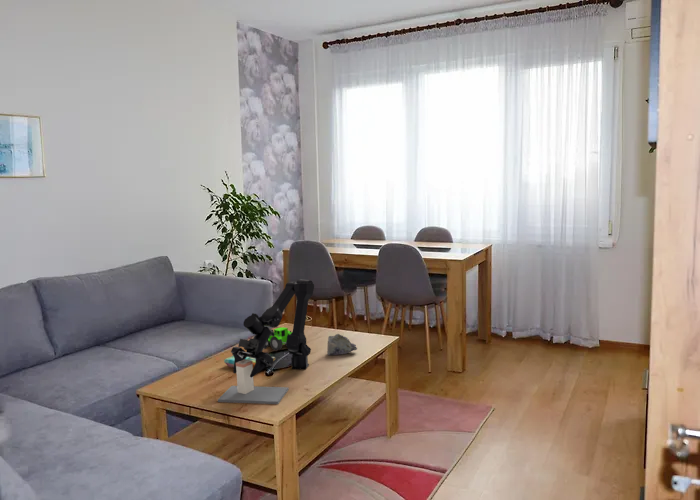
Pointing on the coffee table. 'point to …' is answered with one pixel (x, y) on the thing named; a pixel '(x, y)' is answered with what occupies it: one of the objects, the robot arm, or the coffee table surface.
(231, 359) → the puzzle game
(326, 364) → the coffee table surface
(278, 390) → the mat
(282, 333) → the toy tractor
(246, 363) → the card box
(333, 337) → the mineral rock
